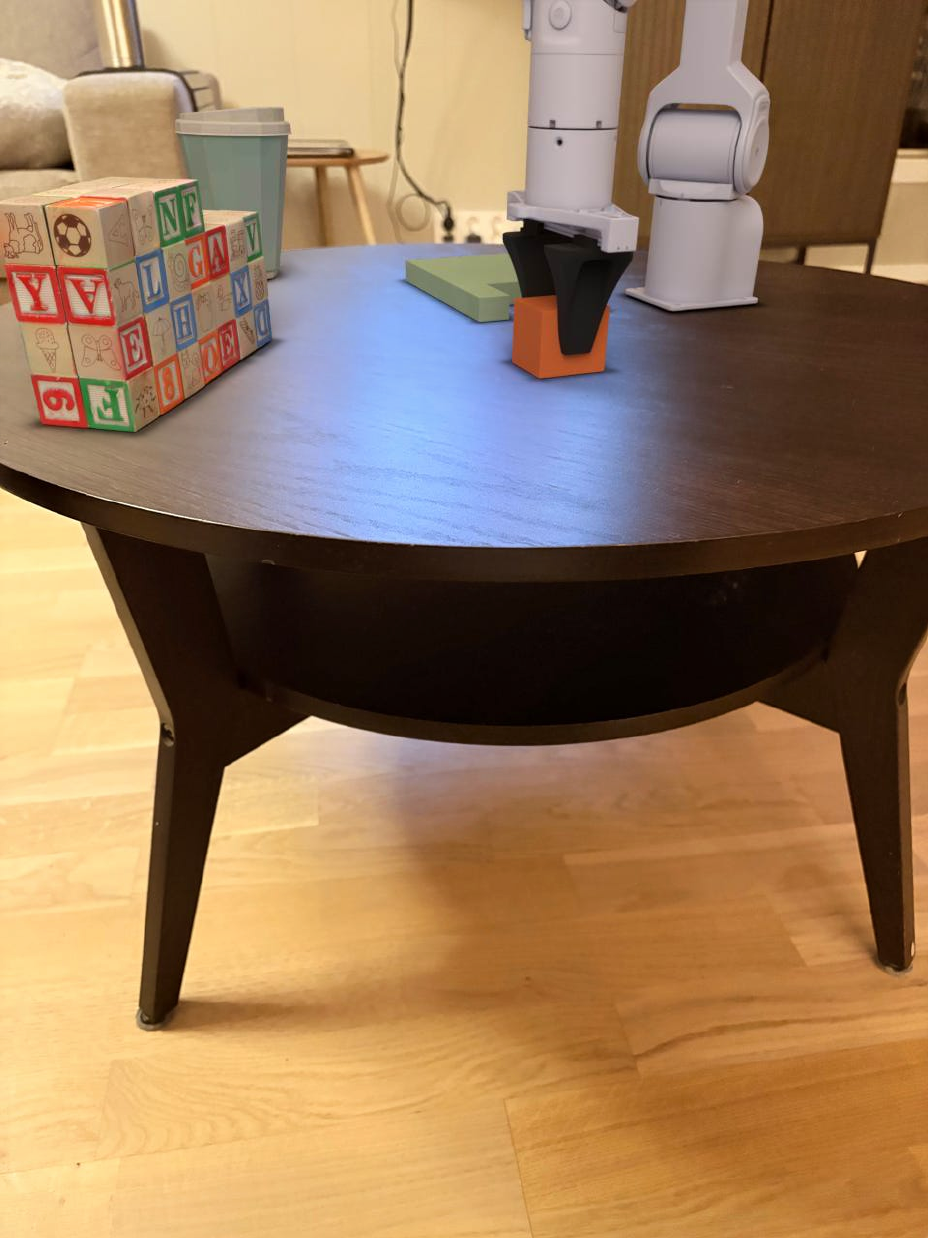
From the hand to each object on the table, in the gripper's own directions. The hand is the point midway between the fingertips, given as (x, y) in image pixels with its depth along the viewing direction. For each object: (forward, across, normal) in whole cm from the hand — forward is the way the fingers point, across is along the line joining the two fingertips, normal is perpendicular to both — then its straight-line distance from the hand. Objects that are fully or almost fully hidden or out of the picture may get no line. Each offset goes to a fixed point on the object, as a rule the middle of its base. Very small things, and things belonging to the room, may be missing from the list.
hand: (558, 343), depth 66 cm
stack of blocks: (+2, -7, -26) cm, 27 cm away
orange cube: (+2, 0, 0) cm, 2 cm away
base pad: (+2, -23, +6) cm, 24 cm away
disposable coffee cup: (+2, -40, -14) cm, 42 cm away
